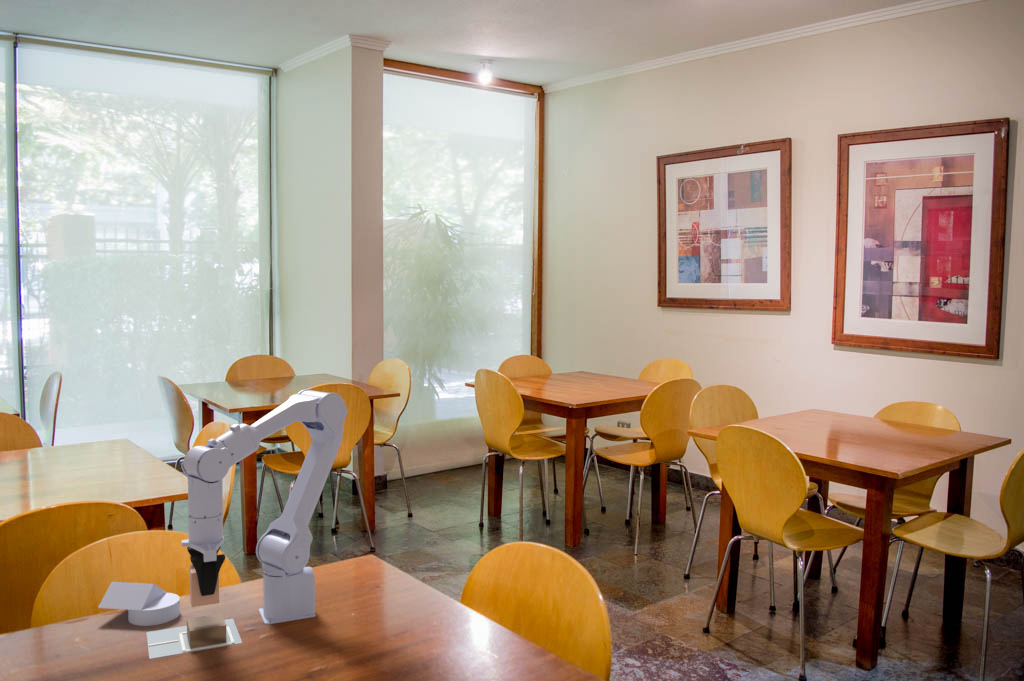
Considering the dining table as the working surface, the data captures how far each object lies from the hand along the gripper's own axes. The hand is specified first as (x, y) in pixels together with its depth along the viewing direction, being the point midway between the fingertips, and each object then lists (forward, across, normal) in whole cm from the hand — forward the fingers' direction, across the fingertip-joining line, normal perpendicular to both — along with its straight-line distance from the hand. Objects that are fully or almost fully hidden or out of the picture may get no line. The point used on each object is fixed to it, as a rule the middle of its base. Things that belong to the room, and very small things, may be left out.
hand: (206, 589), depth 144 cm
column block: (+2, 0, 0) cm, 2 cm away
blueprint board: (+9, -2, -2) cm, 10 cm away
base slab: (+9, 0, 0) cm, 9 cm away
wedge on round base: (+10, -16, -10) cm, 21 cm away
